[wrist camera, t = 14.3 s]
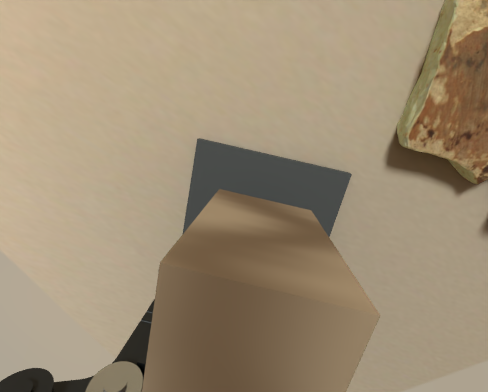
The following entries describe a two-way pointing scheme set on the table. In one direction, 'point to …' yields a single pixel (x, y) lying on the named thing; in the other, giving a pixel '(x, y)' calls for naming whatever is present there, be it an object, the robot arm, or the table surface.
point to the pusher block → (256, 305)
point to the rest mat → (264, 181)
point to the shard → (453, 92)
